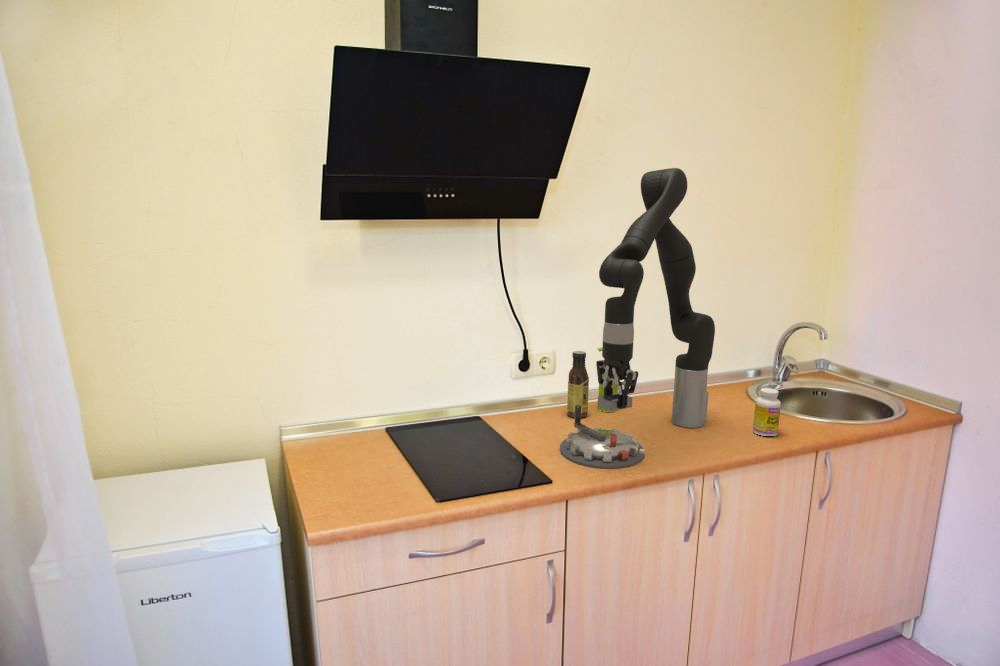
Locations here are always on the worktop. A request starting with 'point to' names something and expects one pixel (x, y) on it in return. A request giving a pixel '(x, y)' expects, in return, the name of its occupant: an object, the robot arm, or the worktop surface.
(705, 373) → the robot arm
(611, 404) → the chain link
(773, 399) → the supplement bottle
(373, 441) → the worktop surface
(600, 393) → the soap dispenser
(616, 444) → the sprocket
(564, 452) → the sprocket base
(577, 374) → the sauce bottle
